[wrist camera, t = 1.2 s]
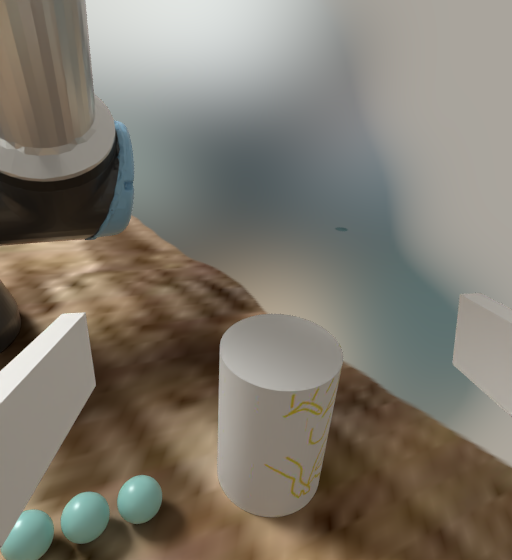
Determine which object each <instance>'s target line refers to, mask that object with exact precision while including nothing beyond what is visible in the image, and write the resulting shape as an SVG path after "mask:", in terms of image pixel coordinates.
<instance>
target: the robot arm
mask: <svg viewBox="0 0 512 560" xmlns="http://www.w3.org/2000/svg"><path fill="white" fill-rule="evenodd" d="M133 181H134V161H133V151H132V145H131V140H130V135H129V132H128V130H127V128H126V126H125V125H124V124H123V123H121V122H119V121H115V120H114V119H113V117H112V115H111V113H110V111H109V109H108V107H107V106H106V105H105V104H104V102H103V101H102V100H101V99H99V98H98V97H97V96H96V95H95V94H94V89H93V78H92V68H91V57H90V46H89V36H88V25H87V14H86V4H85V0H0V246H1V245H13V244H25V243H37V242H52V241H66V240H81V239H85V240H93V239H96V238H97V237H103V236H111V235H116V234H119V233H121V232H122V231H123V230H124V229H125V228H126V227H127V225H128V223H129V221H130V218H131V214H132V208H133V199H134V189H133ZM456 327H457V328H456V336H455V345H454V354H453V365H454V366H455V367H456V368H457V369H459V370H460V371H461V372H462V373H463V374H464V375H465V376H466V377H468V378H469V379H470V380H471V381H472V382H473V383H474V384H475V385H476V386H478V387H479V388H480V389H481V390H482V391H483V392H484V393H486V394H487V395H488V396H489V397H490V398H491V399H492V400H493V401H494V402H495V403H497V404H498V405H499V406H500V407H501V408H502V409H503V410H504V411H506V412H507V413H508V414H509V415H510V416H511V417H512V309H511V308H509V307H507V306H505V305H503V304H501V303H499V302H497V301H495V300H493V299H491V298H489V297H487V296H485V295H483V294H482V293H471V294H460V299H459V307H458V317H457V326H456ZM20 328H21V318H20V314H19V310H18V306H17V303H16V301H15V299H14V298H13V296H12V295H11V294H10V292H9V291H8V290H7V288H6V287H5V285H4V284H3V283H2V281H1V280H0V352H1V351H3V350H4V349H5V348H6V347H7V346H9V345H10V344H11V342H12V341H13V340H14V339H15V338H16V336H17V335H18V333H19V331H20ZM95 386H96V382H95V375H94V368H93V361H92V354H91V348H90V341H89V334H88V327H87V320H86V314H85V313H66V314H61V315H60V316H59V317H58V318H57V319H56V320H55V321H54V322H53V323H52V324H51V325H50V326H48V327H47V328H46V329H45V330H44V331H43V332H42V333H41V334H40V335H39V336H38V337H37V338H36V339H34V340H33V341H32V342H31V343H30V344H29V345H28V346H27V347H26V348H25V349H24V350H23V351H22V352H20V353H19V354H18V355H17V356H16V357H15V358H14V359H13V360H12V361H11V362H10V363H9V364H8V365H6V366H5V367H4V368H3V369H2V370H1V371H0V548H2V546H3V544H4V542H5V541H6V539H7V537H8V536H9V534H10V532H11V530H12V529H13V527H14V525H15V524H16V522H17V520H18V518H19V517H20V515H21V513H22V511H23V510H24V508H25V506H26V505H27V503H28V501H29V499H30V498H31V496H32V494H33V493H34V491H35V489H36V487H37V486H38V484H39V482H40V481H41V479H42V477H43V475H44V474H45V472H46V470H47V469H48V467H49V465H50V463H51V462H52V460H53V458H54V457H55V455H56V453H57V451H58V450H59V448H60V446H61V444H62V443H63V441H64V439H65V438H66V436H67V434H68V432H69V431H70V429H71V427H72V426H73V424H74V422H75V420H76V419H77V417H78V415H79V414H80V412H81V410H82V408H83V407H84V405H85V403H86V402H87V400H88V398H89V396H90V395H91V393H92V391H93V390H94V388H95Z"/></svg>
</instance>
